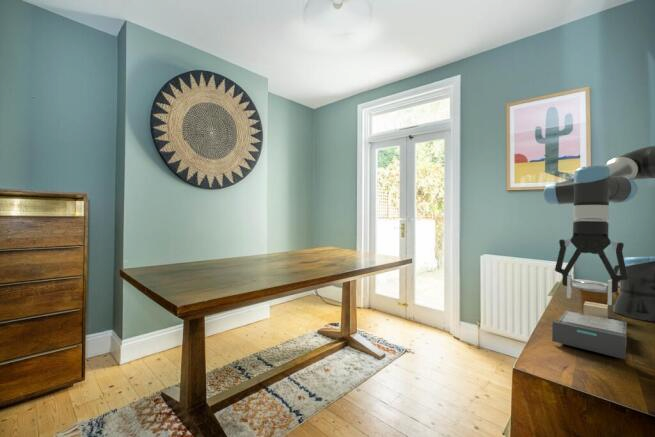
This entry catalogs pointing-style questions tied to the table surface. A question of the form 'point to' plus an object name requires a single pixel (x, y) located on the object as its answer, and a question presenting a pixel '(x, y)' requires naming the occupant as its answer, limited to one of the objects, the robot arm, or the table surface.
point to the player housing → (594, 322)
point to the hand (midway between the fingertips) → (588, 300)
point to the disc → (589, 285)
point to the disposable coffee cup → (593, 297)
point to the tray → (589, 339)
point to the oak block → (596, 309)
